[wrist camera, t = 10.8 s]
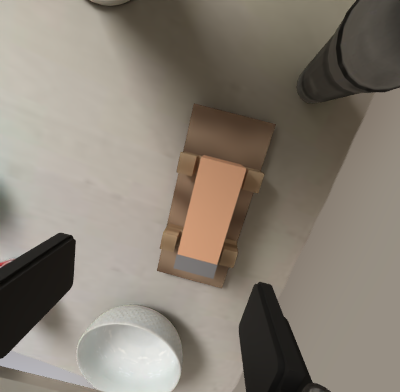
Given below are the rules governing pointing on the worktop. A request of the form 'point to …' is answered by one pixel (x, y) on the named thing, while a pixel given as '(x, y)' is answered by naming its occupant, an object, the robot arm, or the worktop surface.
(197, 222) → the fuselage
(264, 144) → the cradle
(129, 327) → the cereal bowl
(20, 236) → the worktop surface
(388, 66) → the beverage cup
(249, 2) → the worktop surface
